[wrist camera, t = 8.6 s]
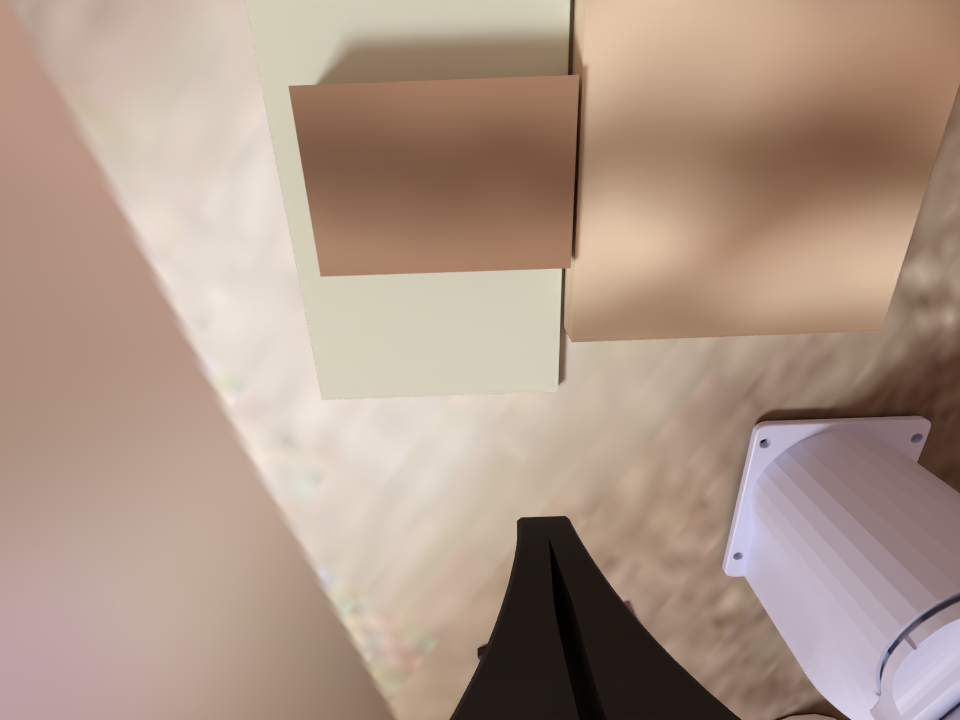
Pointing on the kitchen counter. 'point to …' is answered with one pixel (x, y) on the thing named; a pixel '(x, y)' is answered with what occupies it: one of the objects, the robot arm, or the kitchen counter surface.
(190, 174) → the kitchen counter surface
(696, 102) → the block
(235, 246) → the kitchen counter surface
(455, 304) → the sage mat
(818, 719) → the white cup
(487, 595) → the kitchen counter surface
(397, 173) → the walnut tile
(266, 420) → the kitchen counter surface
